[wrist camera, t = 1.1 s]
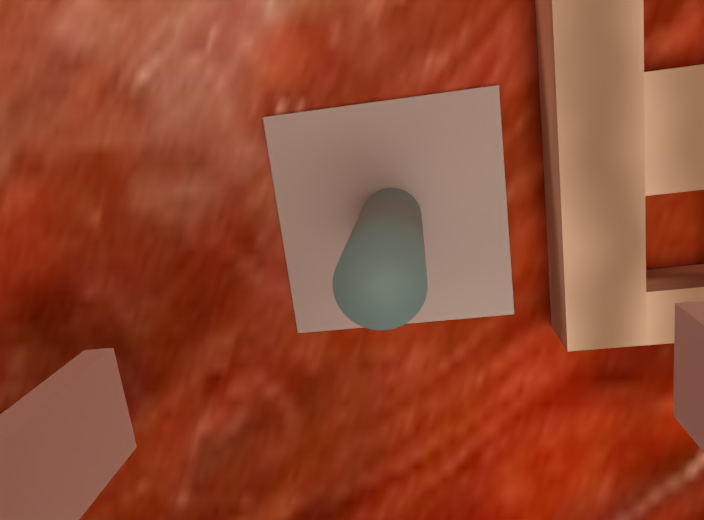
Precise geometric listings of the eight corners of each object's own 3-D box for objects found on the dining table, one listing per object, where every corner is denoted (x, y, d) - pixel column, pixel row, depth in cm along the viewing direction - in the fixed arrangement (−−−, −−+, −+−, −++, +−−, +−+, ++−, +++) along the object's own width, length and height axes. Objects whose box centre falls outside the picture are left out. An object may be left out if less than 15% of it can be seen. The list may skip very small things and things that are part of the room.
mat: (299, 330, 34) (297, 333, 34) (264, 116, 31) (262, 117, 31) (513, 311, 33) (514, 314, 32) (497, 85, 30) (498, 85, 29)
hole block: (551, 325, 33) (567, 351, 29) (530, -76, 28) (547, -101, 24) (788, 305, 31) (833, 330, 28) (810, -123, 26) (868, -156, 23)
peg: (365, 250, 32) (339, 334, 21) (357, 191, 31) (326, 244, 20) (424, 244, 32) (432, 326, 20) (418, 184, 31) (422, 234, 19)
